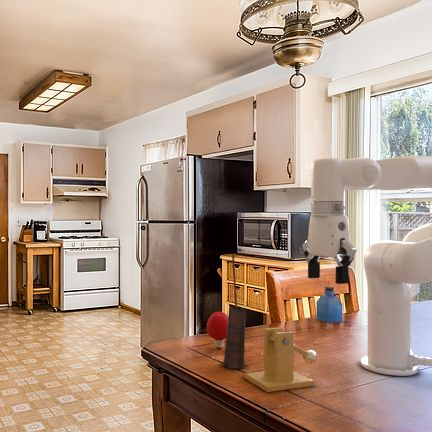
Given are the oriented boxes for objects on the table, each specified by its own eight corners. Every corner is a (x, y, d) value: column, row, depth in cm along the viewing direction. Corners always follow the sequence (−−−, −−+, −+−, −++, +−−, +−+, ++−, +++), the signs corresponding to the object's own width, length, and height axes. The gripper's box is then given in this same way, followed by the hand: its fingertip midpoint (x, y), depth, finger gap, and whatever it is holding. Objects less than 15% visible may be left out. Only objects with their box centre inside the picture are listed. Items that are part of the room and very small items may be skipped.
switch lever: (307, 364, 112) (313, 351, 112) (316, 368, 109) (322, 355, 109) (267, 340, 108) (273, 327, 109) (275, 343, 105) (281, 330, 106)
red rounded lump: (231, 354, 129) (231, 317, 129) (205, 352, 130) (205, 316, 130) (231, 344, 138) (231, 310, 138) (207, 343, 139) (207, 309, 139)
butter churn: (263, 371, 114) (264, 256, 114) (226, 374, 113) (226, 257, 112) (247, 360, 123) (248, 253, 123) (213, 362, 122) (213, 254, 121)
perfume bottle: (316, 319, 172) (316, 286, 172) (330, 317, 174) (330, 285, 174) (327, 322, 166) (327, 288, 166) (342, 321, 168) (342, 288, 168)
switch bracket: (288, 372, 114) (288, 324, 114) (313, 385, 105) (313, 333, 105) (245, 378, 110) (245, 327, 110) (267, 392, 101) (267, 337, 101)
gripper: (367, 209, 107) (367, 285, 107) (316, 210, 123) (316, 275, 123) (341, 209, 104) (340, 286, 104) (292, 209, 120) (291, 276, 121)
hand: (327, 280), depth 114 cm, fingers open, 9 cm apart
